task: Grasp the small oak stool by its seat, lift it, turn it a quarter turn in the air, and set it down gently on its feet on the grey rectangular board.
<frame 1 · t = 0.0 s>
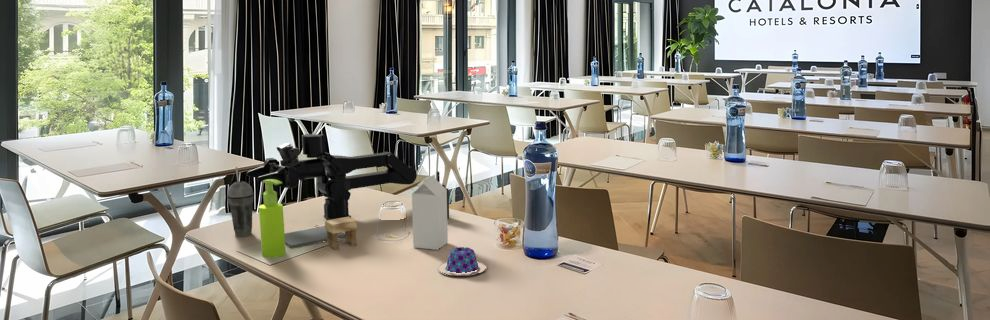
hand: (252, 176, 199), 17 cm above the table, tool horizontal, fingers open, 9 cm apart
walkie-talkie: (441, 219, 216), on the table
beverage cup: (243, 235, 200), on the table
oak stool: (342, 245, 190), on the table
pudding: (462, 271, 170), on the table
milk carton: (430, 246, 189), on the table
grey rectangular board: (310, 237, 197), on the table
soap dispenser: (275, 255, 183), on the table
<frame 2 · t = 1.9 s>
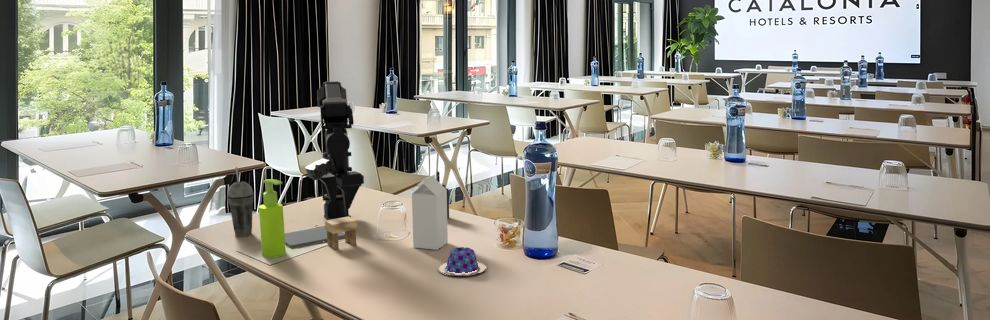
hand: (339, 205, 188), 11 cm above the table, tool pointing down, fingers open, 9 cm apart
nothing on the table moved.
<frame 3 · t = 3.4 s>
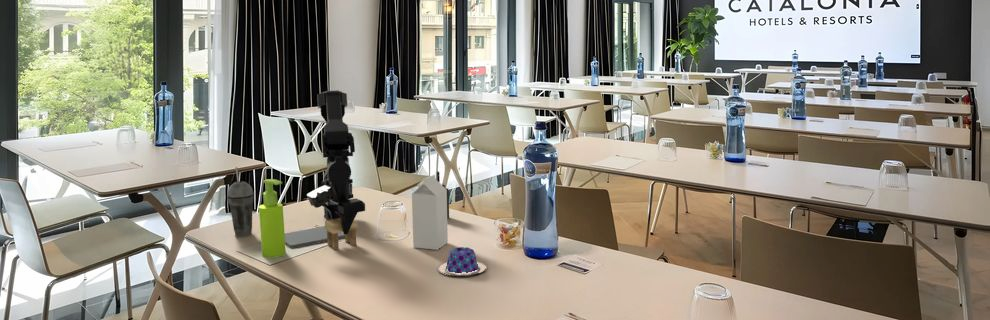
hand: (341, 231, 189), 4 cm above the table, tool pointing down, fingers closed on oak stool, 5 cm apart
oak stool: (342, 245, 190), on the table, touching gripper
everything else where it was.
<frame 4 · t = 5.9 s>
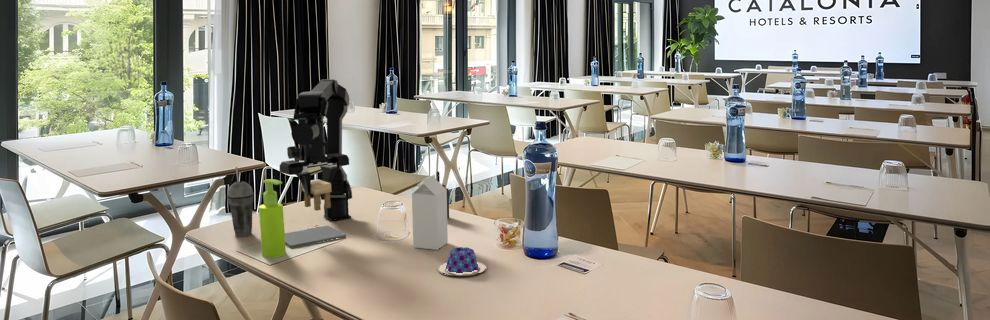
hand: (316, 193, 194), 13 cm above the table, tool pointing down, fingers closed on oak stool, 5 cm apart
oak stool: (317, 207, 195), point 9 cm above the table, touching gripper
everything else where it was.
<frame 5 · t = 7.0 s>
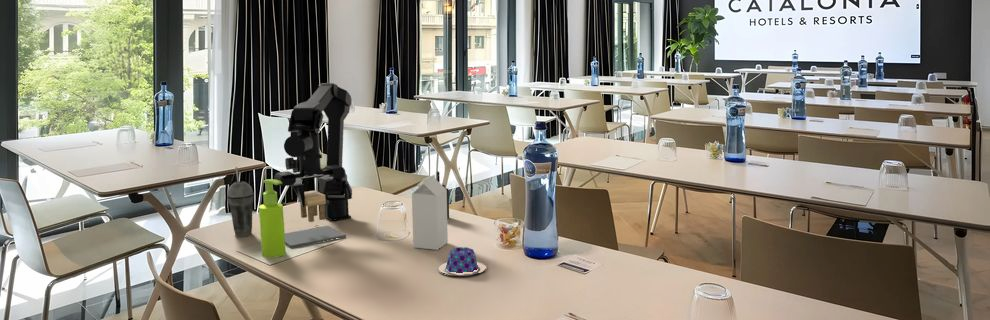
hand: (312, 205, 196), 9 cm above the table, tool pointing down, fingers closed on oak stool, 5 cm apart
oak stool: (313, 218, 196), point 5 cm above the table, touching gripper
everything else where it was.
when the fingers open (6 cm above the table, at t = 8.1 s): oak stool drops 1 cm, resting on grey rectangular board.
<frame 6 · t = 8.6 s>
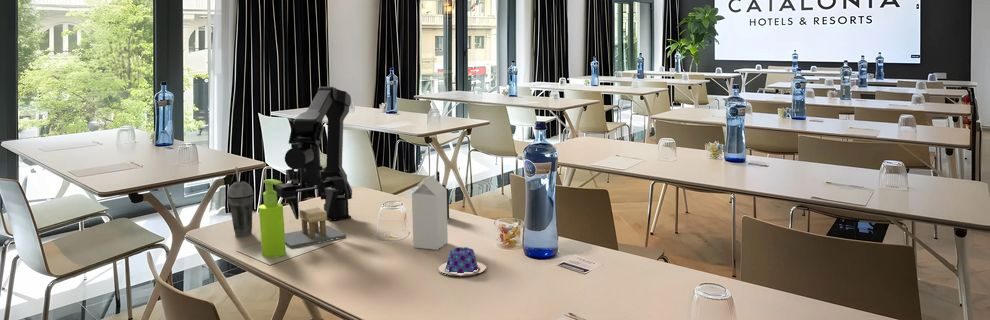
hand: (312, 216, 196), 6 cm above the table, tool pointing down, fingers open, 9 cm apart
oak stool: (314, 234, 197), point 1 cm above the table, touching grey rectangular board
everything else where it was.
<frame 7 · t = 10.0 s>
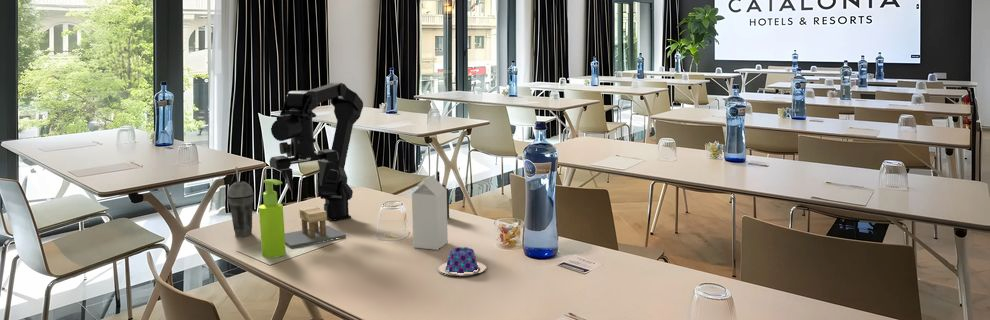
hand: (306, 188, 201), 13 cm above the table, tool pointing down, fingers open, 9 cm apart
nothing on the table moved.
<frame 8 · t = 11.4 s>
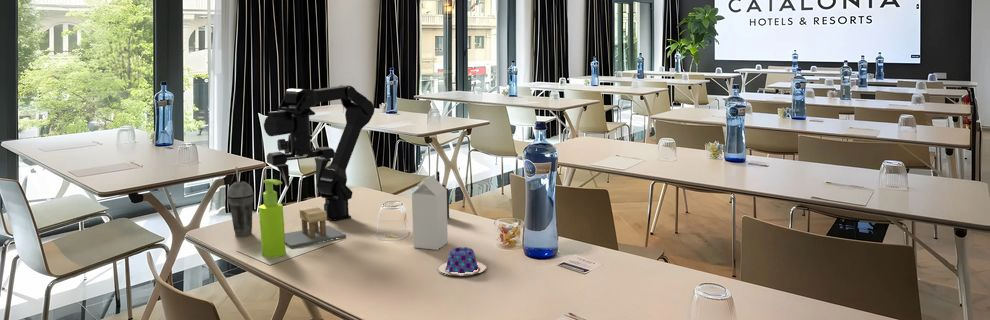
hand: (303, 184, 205), 13 cm above the table, tool pointing down, fingers open, 9 cm apart
nothing on the table moved.
at the end: oak stool inside the target area on the grey rectangular board (0.1 cm from its centre), point 0.8 cm above the grey rectangular board's base; oak stool tilted 0°; the gripper is holding nothing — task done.
